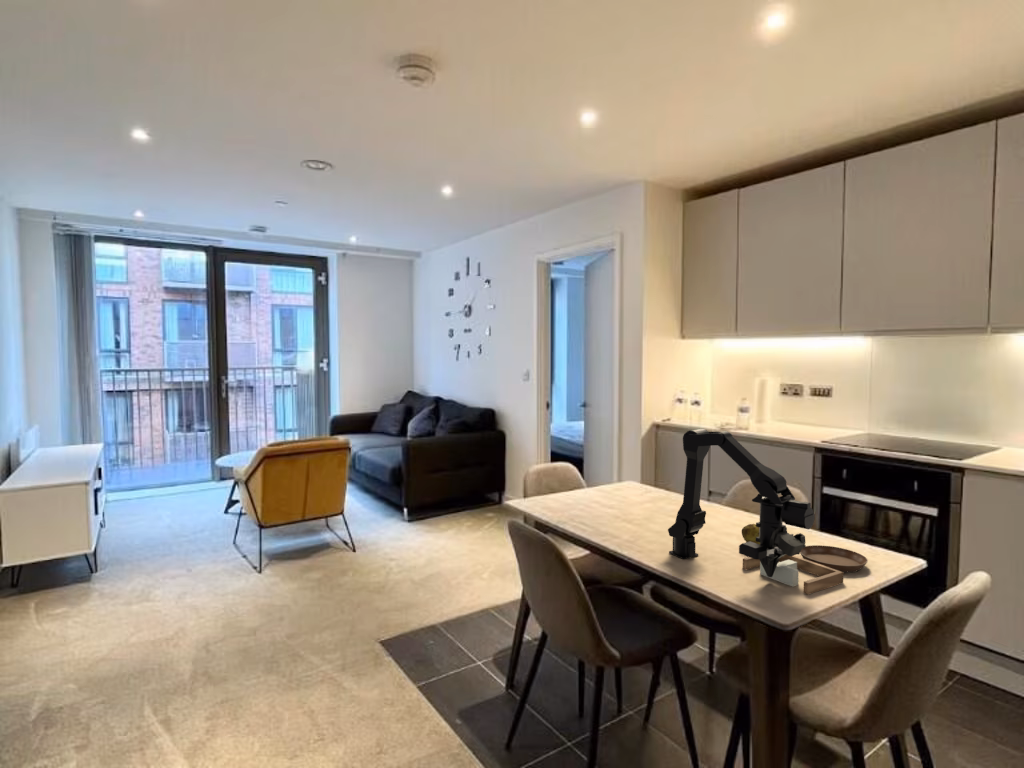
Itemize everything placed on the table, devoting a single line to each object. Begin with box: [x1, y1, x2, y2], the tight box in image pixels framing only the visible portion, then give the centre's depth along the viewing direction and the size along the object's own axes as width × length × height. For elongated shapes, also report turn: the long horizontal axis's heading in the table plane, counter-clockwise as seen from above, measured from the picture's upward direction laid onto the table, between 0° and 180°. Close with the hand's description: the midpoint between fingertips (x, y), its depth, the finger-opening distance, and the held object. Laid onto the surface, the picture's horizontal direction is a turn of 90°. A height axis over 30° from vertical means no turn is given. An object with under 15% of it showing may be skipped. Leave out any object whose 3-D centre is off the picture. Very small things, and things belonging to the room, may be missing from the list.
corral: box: [742, 555, 844, 595], centre depth 160 cm, size 20×15×3 cm
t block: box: [759, 560, 800, 588], centre depth 159 cm, size 10×8×4 cm
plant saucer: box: [799, 544, 869, 573], centre depth 169 cm, size 18×18×3 cm
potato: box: [741, 523, 760, 544], centre depth 180 cm, size 8×13×8 cm, turn 38°
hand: (769, 576), depth 156 cm, fingers closed
